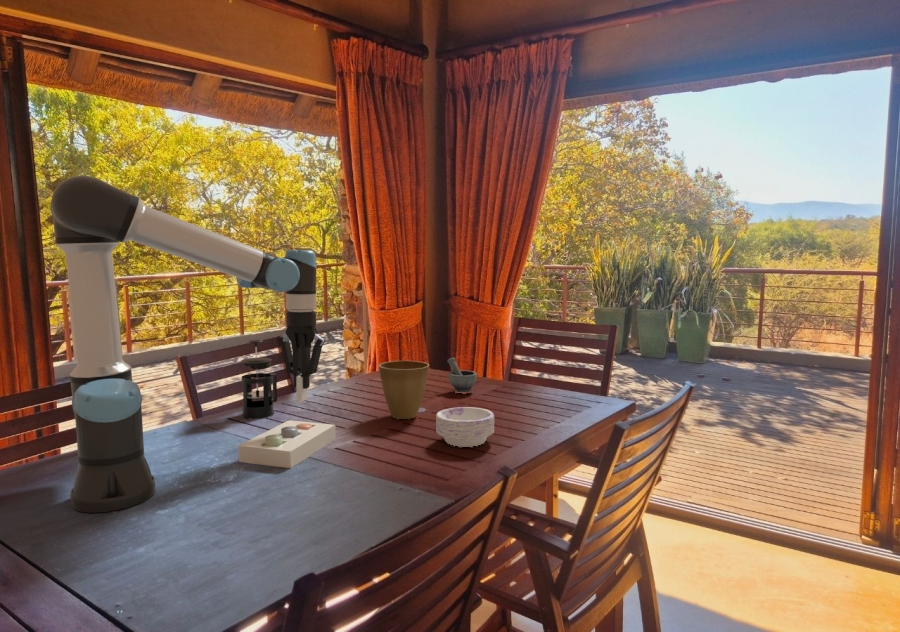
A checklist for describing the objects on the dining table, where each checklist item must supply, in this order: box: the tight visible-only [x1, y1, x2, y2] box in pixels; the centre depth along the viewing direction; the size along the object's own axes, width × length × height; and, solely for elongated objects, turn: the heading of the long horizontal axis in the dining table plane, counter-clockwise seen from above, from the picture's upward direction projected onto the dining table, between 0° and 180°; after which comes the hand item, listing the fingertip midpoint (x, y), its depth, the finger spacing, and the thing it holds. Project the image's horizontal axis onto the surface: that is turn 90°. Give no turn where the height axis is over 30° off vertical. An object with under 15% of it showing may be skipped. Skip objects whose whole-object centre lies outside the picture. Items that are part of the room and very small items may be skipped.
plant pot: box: [378, 360, 430, 420], centre depth 181 cm, size 15×15×16 cm
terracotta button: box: [296, 423, 312, 430], centre depth 158 cm, size 4×4×4 cm
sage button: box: [265, 435, 282, 447], centre depth 145 cm, size 4×4×4 cm
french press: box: [240, 339, 278, 420], centre depth 183 cm, size 12×9×23 cm
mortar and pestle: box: [447, 357, 478, 392], centre depth 213 cm, size 11×9×12 cm
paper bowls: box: [435, 406, 495, 448], centre depth 158 cm, size 15×15×8 cm
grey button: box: [281, 426, 298, 438], centre depth 151 cm, size 4×4×4 cm
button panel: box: [238, 419, 337, 469], centre depth 152 cm, size 22×14×4 cm, turn 163°
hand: (301, 400), depth 157 cm, fingers closed
